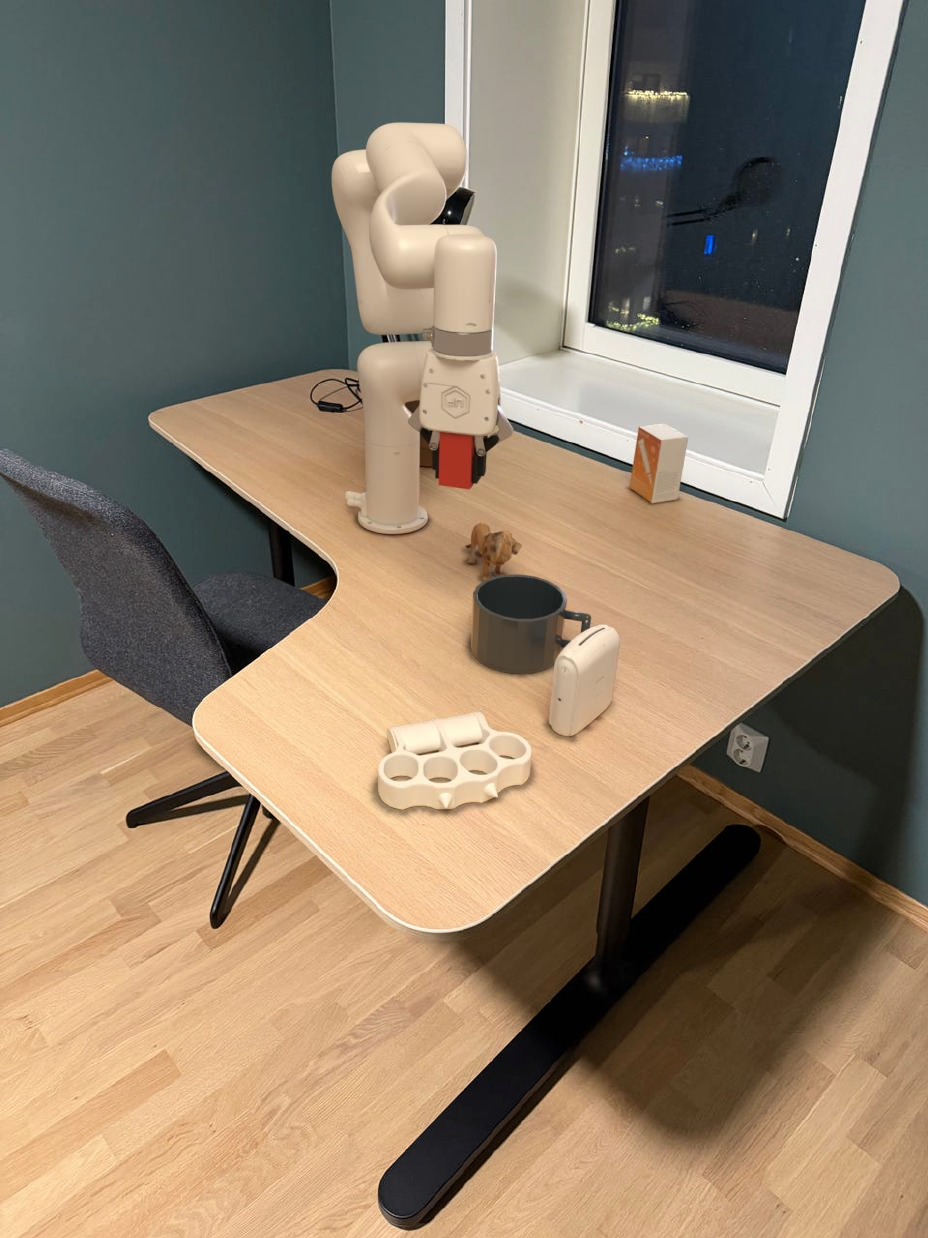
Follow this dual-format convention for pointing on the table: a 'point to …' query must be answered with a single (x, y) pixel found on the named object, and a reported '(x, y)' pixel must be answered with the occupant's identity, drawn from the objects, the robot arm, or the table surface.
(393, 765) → the knuckle duster
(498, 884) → the table surface
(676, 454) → the small box
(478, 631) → the dark gray mug
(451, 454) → the red block
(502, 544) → the lion figurine
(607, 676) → the photo printer
